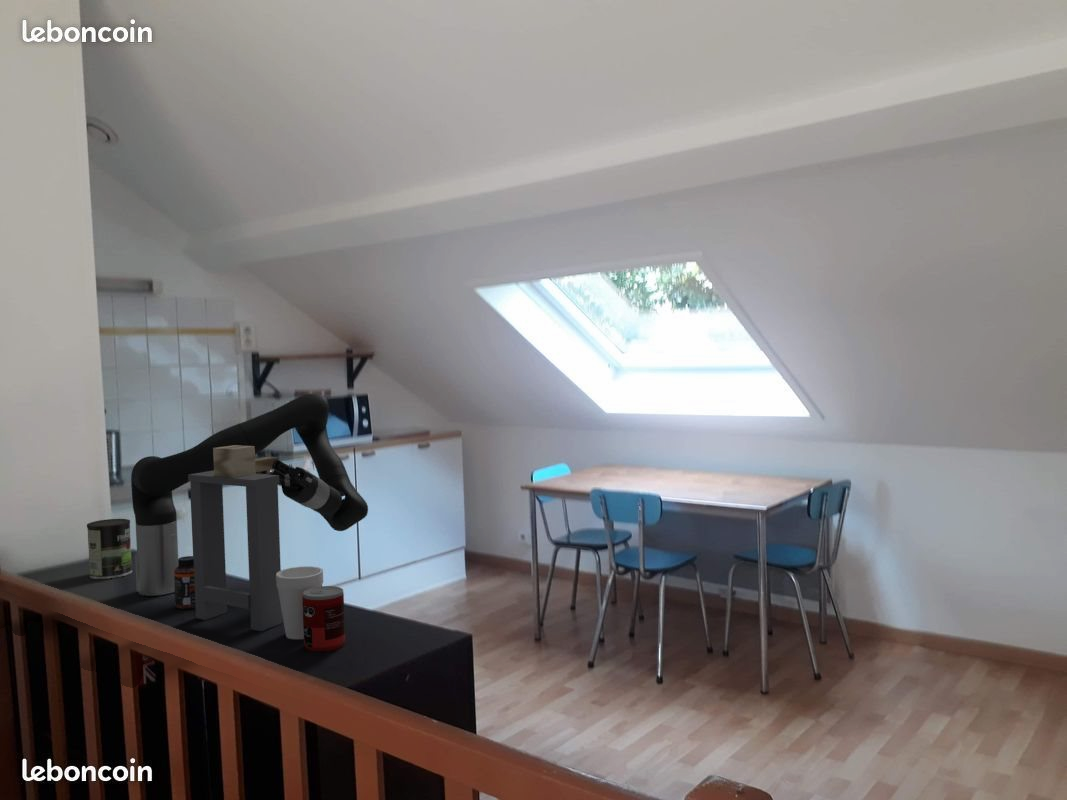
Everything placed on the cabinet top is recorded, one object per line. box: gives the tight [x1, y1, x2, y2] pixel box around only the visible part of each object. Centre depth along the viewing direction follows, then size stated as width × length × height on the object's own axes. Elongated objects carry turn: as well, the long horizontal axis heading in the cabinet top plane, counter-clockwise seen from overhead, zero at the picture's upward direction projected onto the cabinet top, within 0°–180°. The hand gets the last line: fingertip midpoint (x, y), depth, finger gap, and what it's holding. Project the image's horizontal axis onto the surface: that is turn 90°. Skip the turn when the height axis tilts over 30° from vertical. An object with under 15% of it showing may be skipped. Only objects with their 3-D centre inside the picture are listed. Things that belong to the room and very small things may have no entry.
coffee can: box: [86, 518, 133, 580], centre depth 223 cm, size 10×10×14 cm
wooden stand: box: [188, 471, 284, 632], centre depth 182 cm, size 20×7×32 cm, turn 61°
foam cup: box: [276, 565, 324, 640], centre depth 173 cm, size 10×9×13 cm
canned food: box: [302, 585, 346, 652], centre depth 166 cm, size 8×8×11 cm
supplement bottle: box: [174, 555, 196, 610], centre depth 194 cm, size 6×6×11 cm
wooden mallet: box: [213, 445, 279, 477], centre depth 185 cm, size 6×14×6 cm, turn 151°
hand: (260, 462), depth 188 cm, fingers open, 8 cm apart
